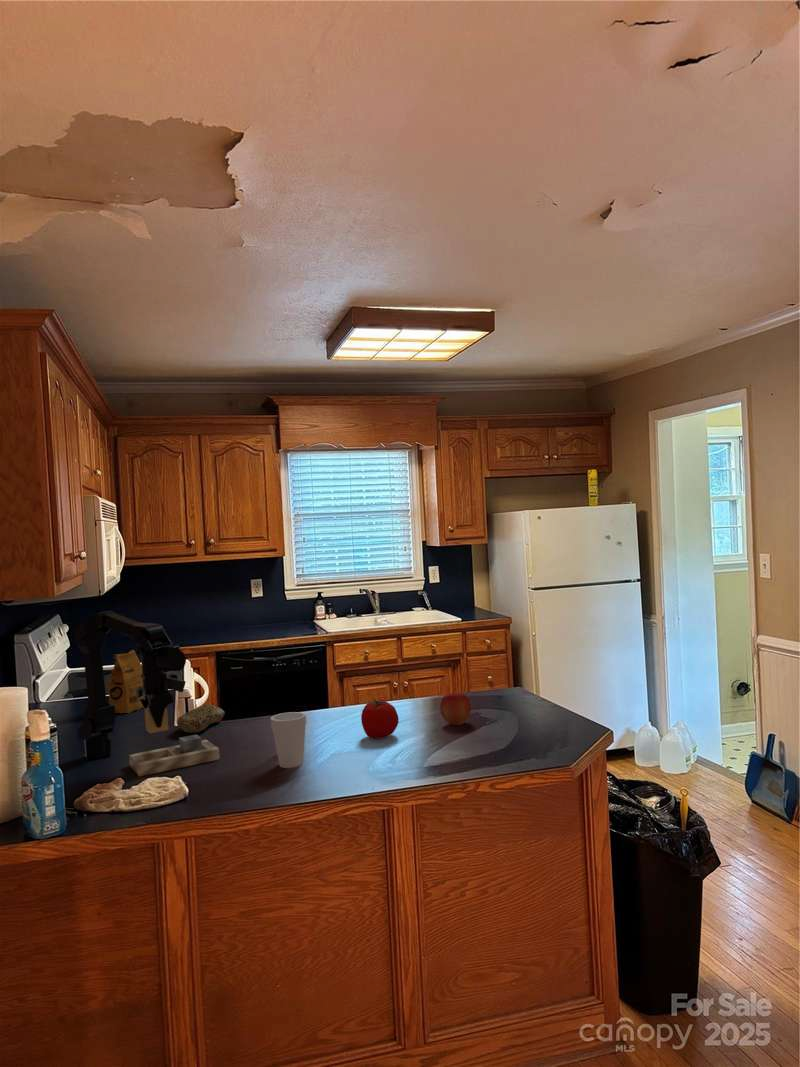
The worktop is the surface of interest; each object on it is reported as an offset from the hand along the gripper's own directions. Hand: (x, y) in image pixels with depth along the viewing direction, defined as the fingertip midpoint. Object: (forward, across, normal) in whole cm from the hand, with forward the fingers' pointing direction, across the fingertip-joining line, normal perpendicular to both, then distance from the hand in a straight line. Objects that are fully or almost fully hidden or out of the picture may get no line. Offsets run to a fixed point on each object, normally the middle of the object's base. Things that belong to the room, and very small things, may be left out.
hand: (156, 725), depth 212 cm
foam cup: (+12, -26, -29) cm, 40 cm away
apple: (+12, -25, -85) cm, 89 cm away
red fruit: (+12, -20, -60) cm, 64 cm away
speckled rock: (+12, +33, -21) cm, 41 cm away
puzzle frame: (+11, -1, -4) cm, 12 cm away
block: (+1, 0, 0) cm, 1 cm away
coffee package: (+11, +81, -8) cm, 82 cm away
